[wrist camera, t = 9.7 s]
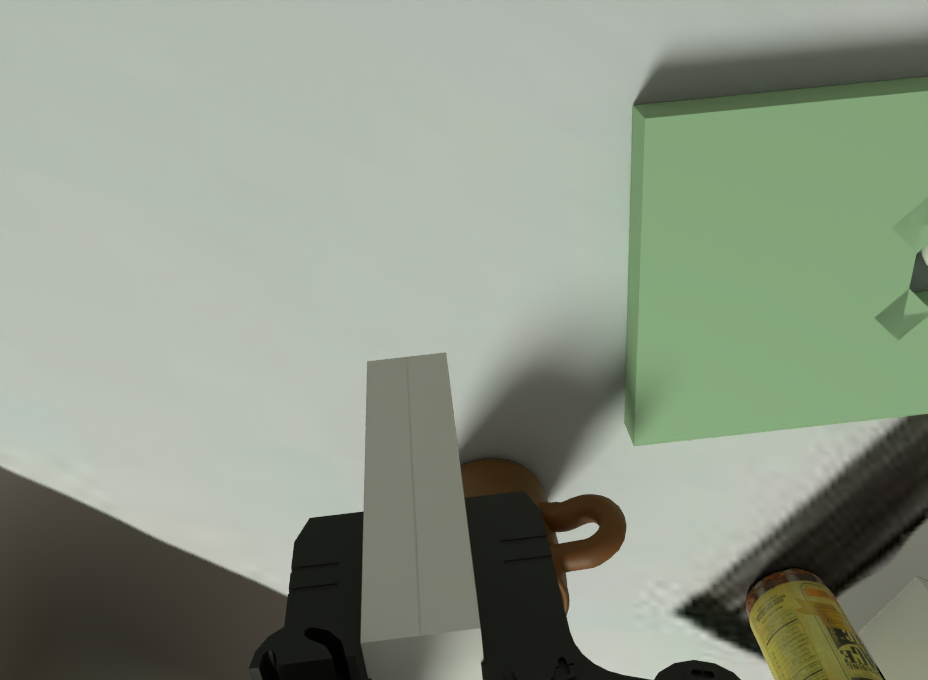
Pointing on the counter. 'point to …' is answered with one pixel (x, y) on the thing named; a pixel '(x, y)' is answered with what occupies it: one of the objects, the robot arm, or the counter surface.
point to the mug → (554, 515)
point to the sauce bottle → (805, 630)
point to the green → (777, 261)
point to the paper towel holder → (901, 634)
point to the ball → (925, 254)
